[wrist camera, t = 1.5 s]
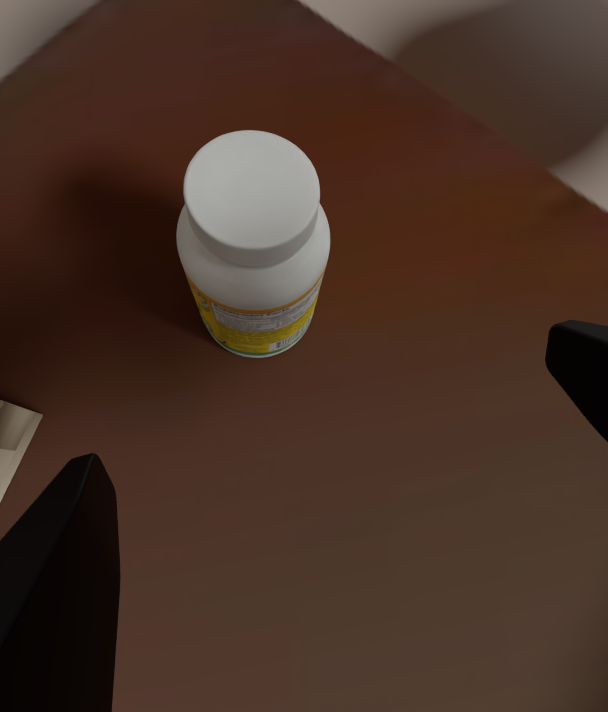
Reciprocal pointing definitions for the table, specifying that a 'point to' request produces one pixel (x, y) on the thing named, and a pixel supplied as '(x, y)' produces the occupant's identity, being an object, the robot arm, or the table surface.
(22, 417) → the holder
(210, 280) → the supplement bottle
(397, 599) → the table surface
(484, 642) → the table surface
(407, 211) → the table surface
